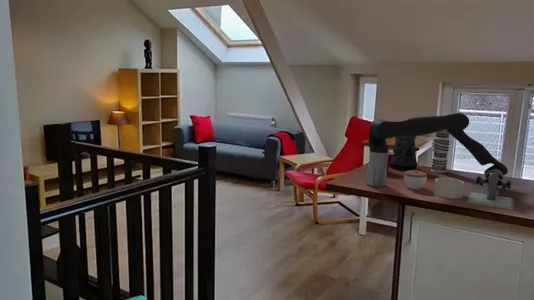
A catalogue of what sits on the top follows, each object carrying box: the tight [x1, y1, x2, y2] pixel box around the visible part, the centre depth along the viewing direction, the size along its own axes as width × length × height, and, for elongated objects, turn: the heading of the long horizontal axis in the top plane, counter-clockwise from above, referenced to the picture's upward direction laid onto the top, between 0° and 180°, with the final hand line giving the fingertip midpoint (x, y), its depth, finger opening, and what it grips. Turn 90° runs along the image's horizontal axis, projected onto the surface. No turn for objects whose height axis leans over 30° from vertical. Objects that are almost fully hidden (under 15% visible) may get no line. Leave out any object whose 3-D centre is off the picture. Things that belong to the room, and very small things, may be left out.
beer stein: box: [389, 135, 419, 171], centre depth 258 cm, size 16×19×25 cm
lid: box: [470, 172, 512, 210], centre depth 191 cm, size 16×16×13 cm
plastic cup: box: [387, 150, 394, 173], centre depth 247 cm, size 11×11×12 cm
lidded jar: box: [404, 168, 428, 190], centre depth 213 cm, size 11×11×9 cm
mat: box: [466, 192, 515, 211], centre depth 192 cm, size 18×18×1 cm
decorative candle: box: [430, 130, 451, 174], centre depth 250 cm, size 9×9×25 cm
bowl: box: [433, 177, 465, 199], centre depth 201 cm, size 12×12×7 cm
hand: (492, 185), depth 189 cm, fingers open, 8 cm apart
